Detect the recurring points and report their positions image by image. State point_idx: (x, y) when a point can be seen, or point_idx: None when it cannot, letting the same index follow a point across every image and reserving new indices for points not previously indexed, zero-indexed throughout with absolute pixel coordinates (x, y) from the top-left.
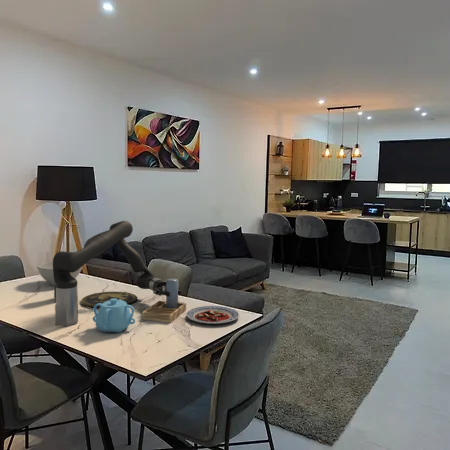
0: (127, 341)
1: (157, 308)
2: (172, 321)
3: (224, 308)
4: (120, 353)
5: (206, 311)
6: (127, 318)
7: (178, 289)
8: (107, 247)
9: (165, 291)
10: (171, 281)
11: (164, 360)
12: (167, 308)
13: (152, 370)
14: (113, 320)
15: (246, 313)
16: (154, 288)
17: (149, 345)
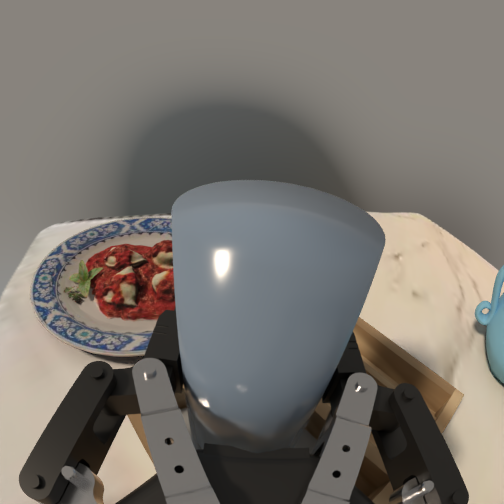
0: (465, 285)
1: (367, 445)
2: None
3: (47, 275)
4: (465, 258)
5: (132, 285)
6: (501, 296)
7: (169, 331)
8: None
9: (350, 360)
10: (327, 194)
11: (393, 218)
12: None
13: (411, 214)
14: None
15: (42, 246)
16: (460, 490)
17: (418, 254)
